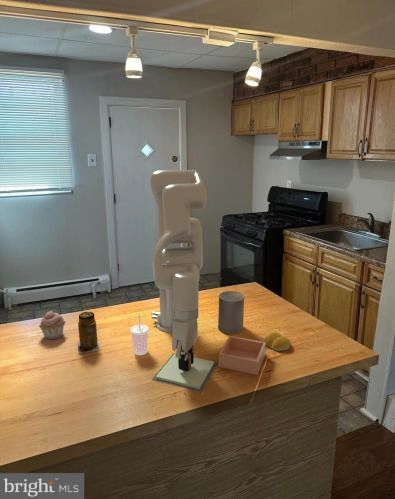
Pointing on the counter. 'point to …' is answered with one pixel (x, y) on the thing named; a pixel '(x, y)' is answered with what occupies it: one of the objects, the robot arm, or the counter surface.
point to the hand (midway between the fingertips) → (186, 365)
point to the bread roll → (277, 342)
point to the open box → (242, 355)
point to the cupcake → (52, 325)
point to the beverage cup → (139, 338)
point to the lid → (186, 372)
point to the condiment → (87, 333)
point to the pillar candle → (231, 312)
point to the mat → (183, 385)
